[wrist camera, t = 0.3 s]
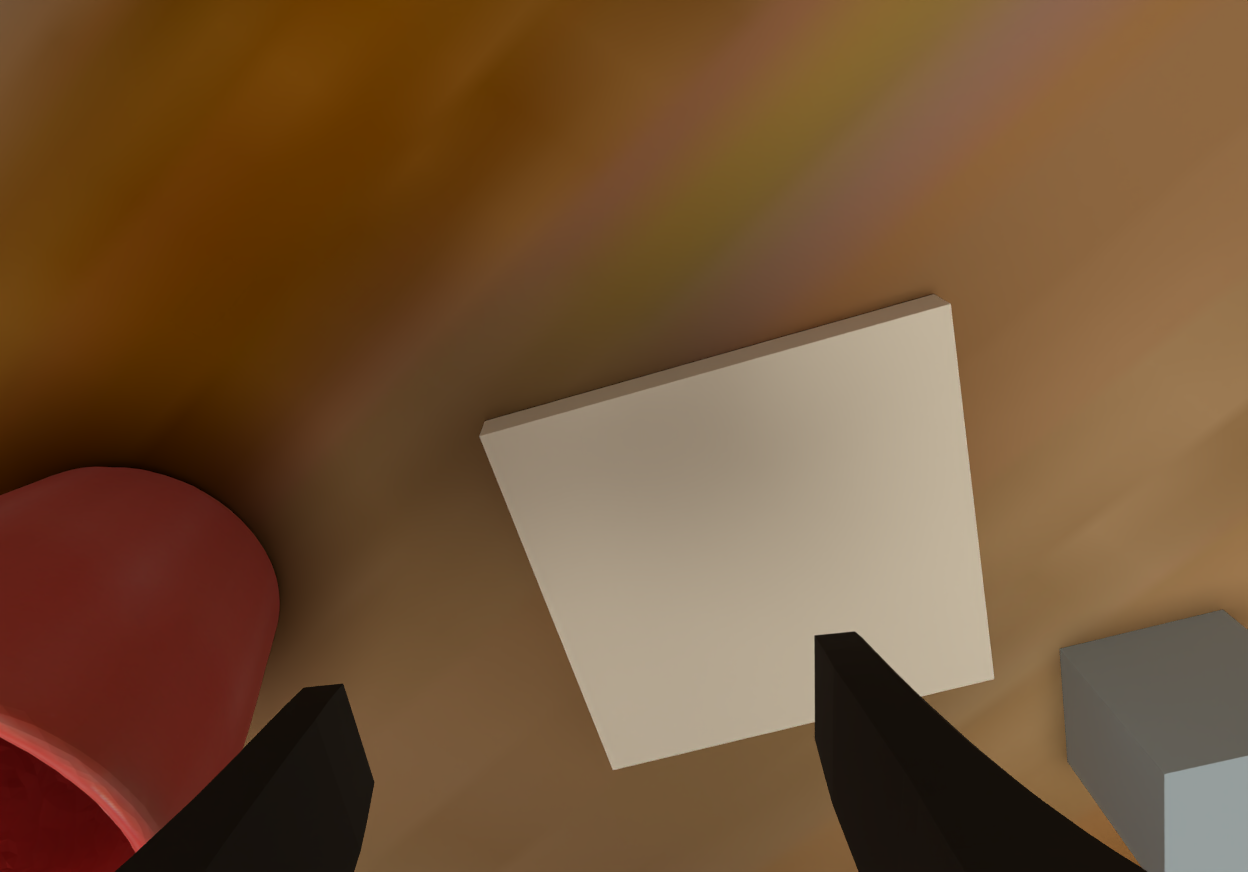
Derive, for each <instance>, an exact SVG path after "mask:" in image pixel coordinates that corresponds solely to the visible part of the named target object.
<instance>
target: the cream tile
mask: <svg viewBox="0 0 1248 872" xmlns="http://www.w3.org/2000/svg"><path fill="white" fill-rule="evenodd" d="M479 437H480V439H481V442H482V444H483V447H484V449H485V452H486V454H487V457H488V459H489V462H490V464H491V467H492V469H493V472H494V474H495V477H496V479H497V482H498V484H499V487H500V489H501V492H502V494H503V497H504V499H505V502H506V504H507V507H508V509H509V512H510V514H511V517H512V519H513V522H514V524H515V527H516V529H517V532H518V534H519V537H520V539H521V542H522V544H523V547H524V549H525V552H526V554H527V557H528V559H529V562H530V564H531V567H532V569H533V572H534V574H535V577H536V579H537V582H538V584H539V587H540V589H541V592H542V594H543V597H544V599H545V602H546V604H547V607H548V609H549V612H550V614H551V617H552V619H553V622H554V624H555V627H556V629H557V631H558V634H559V636H560V639H561V641H562V644H563V646H564V649H565V651H566V654H567V656H568V659H569V661H570V664H571V666H572V669H573V671H574V674H575V676H576V679H577V681H578V684H579V686H580V689H581V691H582V694H583V696H584V699H585V701H586V704H587V706H588V709H589V711H590V714H591V716H592V719H593V721H594V724H595V726H596V729H597V731H598V734H599V736H600V739H601V741H602V744H603V746H604V749H605V751H606V754H607V756H608V759H609V761H610V764H611V766H612V769H613V770H616V769H620V768H624V767H628V766H632V765H637V764H641V763H645V762H649V761H653V760H658V759H662V758H666V757H670V756H674V755H678V754H683V753H687V752H691V751H695V750H699V749H704V748H708V747H712V746H716V745H720V744H724V743H729V742H733V741H737V740H741V739H745V738H750V737H754V736H758V735H762V734H766V733H770V732H775V731H779V730H783V729H787V728H791V727H796V726H800V725H804V724H808V723H812V722H815V654H814V635H823V634H833V633H843V632H853V631H855V632H856V633H857V634H859V635H860V636H861V637H862V638H863V639H864V640H865V641H866V642H867V643H868V644H869V645H870V646H871V647H872V648H873V649H874V650H875V651H876V652H877V653H878V654H879V655H880V656H881V657H882V659H883V660H884V661H885V662H886V663H887V664H888V665H889V666H890V667H891V668H892V669H893V670H894V671H895V672H896V673H897V674H898V675H899V676H900V677H901V678H902V679H903V680H904V681H905V682H906V683H907V684H908V685H909V686H910V687H911V688H912V689H913V690H914V691H916V692H917V693H918V694H919V695H920V696H925V695H929V694H934V693H938V692H942V691H946V690H950V689H954V688H959V687H963V686H967V685H971V684H975V683H980V682H984V681H988V680H992V679H994V672H993V664H992V655H991V646H990V638H989V629H988V621H987V612H986V603H985V595H984V586H983V578H982V569H981V561H980V552H979V543H978V535H977V526H976V518H975V509H974V500H973V492H972V483H971V475H970V466H969V457H968V449H967V440H966V432H965V423H964V415H963V406H962V397H961V389H960V380H959V372H958V363H957V354H956V346H955V337H954V329H953V320H952V311H951V304H950V303H948V302H947V301H945V300H943V299H942V298H940V297H938V296H936V295H935V294H933V295H929V296H925V297H922V298H918V299H915V300H911V301H908V302H904V303H901V304H897V305H894V306H890V307H887V308H883V309H879V310H876V311H872V312H869V313H865V314H862V315H858V316H855V317H851V318H848V319H844V320H841V321H837V322H834V323H830V324H826V325H823V326H819V327H816V328H812V329H809V330H805V331H802V332H798V333H795V334H791V335H788V336H784V337H780V338H777V339H773V340H770V341H766V342H763V343H759V344H756V345H752V346H749V347H745V348H742V349H738V350H735V351H731V352H727V353H724V354H720V355H717V356H713V357H710V358H706V359H703V360H699V361H696V362H692V363H689V364H685V365H681V366H678V367H674V368H671V369H667V370H664V371H660V372H657V373H653V374H650V375H646V376H643V377H639V378H636V379H632V380H628V381H625V382H621V383H618V384H614V385H611V386H607V387H604V388H600V389H597V390H593V391H590V392H586V393H582V394H579V395H575V396H572V397H568V398H565V399H561V400H558V401H554V402H551V403H547V404H544V405H540V406H537V407H533V408H529V409H526V410H522V411H519V412H515V413H512V414H508V415H505V416H501V417H498V418H494V419H491V420H487V421H485V422H484V424H483V427H482V430H481V433H480V436H479Z"/></svg>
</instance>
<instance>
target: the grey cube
mask: <svg viewBox="0 0 1248 872" xmlns="http://www.w3.org/2000/svg"><path fill="white" fill-rule="evenodd" d="M1060 662H1061V676H1062V690H1063V704H1064V719H1065V733H1066V747H1067V761H1068V763H1069V765H1070V766H1071V767H1072V769H1073V770H1074V772H1075V773H1076V775H1077V776H1078V777H1079V779H1080V780H1081V782H1082V783H1083V784H1084V786H1085V787H1086V789H1087V790H1088V792H1089V793H1090V794H1091V796H1092V797H1093V799H1094V800H1095V801H1096V803H1097V804H1098V806H1099V807H1100V809H1101V810H1102V811H1103V813H1104V814H1105V816H1106V817H1107V818H1108V820H1109V821H1110V823H1111V824H1112V826H1113V827H1114V828H1115V830H1116V831H1117V833H1118V834H1119V835H1120V837H1121V838H1122V840H1123V841H1124V843H1125V844H1126V845H1127V847H1128V848H1129V850H1130V851H1131V852H1132V854H1133V855H1134V857H1135V858H1136V860H1137V861H1138V862H1139V864H1140V865H1141V867H1142V868H1143V869H1144V870H1146V871H1147V872H1248V630H1247V629H1246V628H1245V627H1243V626H1242V625H1241V624H1240V623H1239V622H1237V621H1236V620H1235V619H1234V618H1232V617H1231V616H1230V615H1229V614H1228V613H1226V612H1225V611H1224V610H1219V611H1215V612H1211V613H1206V614H1202V615H1198V616H1194V617H1190V618H1186V619H1181V620H1177V621H1173V622H1169V623H1165V624H1161V625H1157V626H1152V627H1148V628H1144V629H1140V630H1136V631H1132V632H1127V633H1123V634H1119V635H1115V636H1111V637H1107V638H1102V639H1098V640H1094V641H1090V642H1086V643H1082V644H1078V645H1073V646H1069V647H1065V648H1061V649H1060Z"/></svg>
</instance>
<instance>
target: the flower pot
mask: <svg viewBox="0 0 1248 872" xmlns="http://www.w3.org/2000/svg"><path fill="white" fill-rule="evenodd" d="M279 608H280V600H279V588H278V583H277V578H276V575H275V572H274V569H273V566H272V564H271V561H270V560H269V558H268V556H267V554H266V551H265V550H264V548H263V547H262V545H261V544H260V542H259V541H258V539H257V538H256V537H255V535H254V534H253V533H252V532H251V530H250V529H249V528H248V527H247V526H246V525H245V524H244V522H243V521H242V520H241V519H239V518H238V517H237V516H236V515H235V514H234V513H233V512H232V511H231V510H230V509H228V508H227V507H226V506H224V505H223V504H222V503H220V502H219V501H217V500H216V499H214V498H213V497H211V496H210V495H208V494H207V493H205V492H203V491H201V490H199V489H198V488H196V487H194V486H192V485H189V484H187V483H185V482H183V481H180V480H177V479H174V478H172V477H169V476H166V475H162V474H159V473H155V472H151V471H147V470H142V469H134V468H126V467H83V468H78V469H72V470H69V471H65V472H62V473H59V474H55V475H52V476H49V477H47V478H44V479H42V480H39V481H37V482H34V483H31V484H29V485H26V486H24V487H21V488H18V489H15V490H13V491H10V492H8V493H5V494H2V495H0V872H115V871H116V870H117V869H118V868H119V867H120V866H121V865H123V864H124V863H125V862H126V861H127V860H128V859H129V858H131V857H132V856H133V855H134V854H135V853H136V852H137V851H138V850H139V849H140V848H141V847H142V846H143V845H144V844H146V843H147V842H148V841H149V840H150V839H151V838H152V837H153V836H154V835H155V834H156V833H157V832H158V831H159V830H160V829H162V828H163V827H164V826H165V825H166V824H167V823H168V822H169V821H170V820H171V819H172V818H173V817H174V816H175V815H177V814H178V813H179V812H180V811H181V810H182V809H183V808H184V807H185V806H186V805H187V804H188V803H189V802H190V801H192V800H193V799H194V798H195V797H196V796H197V795H198V794H199V793H200V792H201V791H202V790H203V789H204V788H205V787H206V786H207V785H208V784H209V783H210V782H211V781H212V780H213V779H214V778H215V777H216V776H217V775H218V774H219V773H220V772H221V771H222V770H223V769H224V768H225V767H226V766H227V765H228V764H229V763H230V762H231V761H232V760H233V759H234V758H235V757H236V756H237V755H238V754H239V753H240V752H241V751H242V749H243V746H244V743H245V740H246V737H247V733H248V730H249V727H250V724H251V720H252V717H253V713H254V709H255V706H256V702H257V699H258V695H259V691H260V688H261V684H262V680H263V676H264V672H265V668H266V664H267V661H268V657H269V654H270V650H271V647H272V643H273V639H274V635H275V632H276V628H277V624H278V619H279Z"/></svg>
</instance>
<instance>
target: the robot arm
mask: <svg viewBox="0 0 1248 872" xmlns="http://www.w3.org/2000/svg"><path fill="white" fill-rule="evenodd" d="M814 654H815V741H816V745H817V748H818V752H819V756H820V760H821V764H822V767H823V771H824V775H825V779H826V782H827V786H828V790H829V793H830V797H831V800H832V804H833V807H834V809H835V812H836V814H837V817H838V820H839V822H840V825H841V827H842V830H843V833H844V835H845V838H846V840H847V843H848V845H849V848H850V851H851V853H852V856H853V858H854V861H855V863H856V866H857V869H858V871H859V872H1147V871H1146V870H1144V869H1143V868H1141V867H1139V866H1138V865H1136V864H1135V863H1133V862H1131V861H1130V860H1128V859H1127V858H1125V857H1123V856H1122V855H1120V854H1119V853H1117V852H1115V851H1114V850H1112V849H1111V848H1109V847H1108V846H1106V845H1105V844H1103V843H1102V842H1100V841H1099V840H1097V839H1096V838H1094V837H1093V836H1091V835H1090V834H1088V833H1087V832H1085V831H1084V830H1083V829H1081V828H1080V827H1078V826H1077V825H1076V824H1074V823H1073V822H1071V821H1070V820H1069V819H1067V818H1066V817H1064V816H1063V815H1062V814H1060V813H1059V812H1058V811H1056V810H1055V809H1053V808H1052V807H1051V806H1049V805H1048V804H1046V803H1045V802H1044V801H1042V800H1041V799H1040V798H1038V797H1037V796H1036V795H1034V794H1033V793H1032V792H1031V791H1029V790H1028V789H1027V788H1025V787H1024V786H1023V785H1022V784H1020V783H1019V782H1018V781H1017V780H1015V779H1014V778H1013V777H1012V776H1010V775H1009V774H1008V773H1007V772H1006V771H1004V770H1003V769H1002V768H1001V767H999V766H998V765H997V764H996V763H995V762H993V761H992V760H991V759H990V758H989V757H987V756H986V755H985V754H984V753H983V752H981V751H980V750H979V749H978V748H977V747H976V746H974V745H973V744H972V743H971V742H970V741H969V740H968V739H966V738H965V737H964V736H963V735H962V734H961V733H960V732H959V731H958V730H956V729H955V728H954V727H953V726H952V725H951V724H950V723H949V722H948V721H947V720H945V719H944V718H943V717H942V716H941V715H940V714H939V713H938V712H937V711H936V710H935V709H933V708H932V707H931V706H930V705H929V704H928V703H927V702H926V701H925V700H924V699H923V698H922V697H921V696H920V695H919V694H918V693H917V692H916V691H914V690H913V689H912V688H911V687H910V686H909V685H908V684H907V683H906V682H905V681H904V680H903V679H902V678H901V677H900V676H899V675H898V674H897V673H896V672H895V671H894V670H893V669H892V668H891V667H890V666H889V665H888V664H887V663H886V662H885V661H884V660H883V659H882V657H881V656H880V655H879V654H878V653H877V652H876V651H875V650H874V649H873V648H872V647H871V646H870V645H869V644H868V643H867V642H866V641H865V640H864V639H863V638H862V637H861V636H860V635H859V634H857V633H856V632H855V631H853V632H843V633H833V634H823V635H814ZM373 787H374V780H373V777H372V773H371V770H370V767H369V764H368V761H367V758H366V754H365V751H364V748H363V745H362V742H361V739H360V735H359V732H358V729H357V726H356V723H355V720H354V716H353V713H352V710H351V707H350V704H349V701H348V697H347V694H346V691H345V688H344V685H343V684H335V685H325V686H316V687H306V688H303V689H302V690H301V691H300V692H299V693H298V694H297V695H296V696H295V697H294V698H293V699H292V700H291V701H290V702H288V703H287V704H286V705H285V706H284V708H283V709H282V710H281V711H280V712H279V713H278V714H277V715H276V716H275V717H274V718H273V719H272V720H271V721H270V722H269V723H268V724H267V725H266V726H265V727H264V728H263V729H262V730H261V731H260V732H259V733H258V734H257V735H256V736H255V737H254V738H253V739H252V740H251V741H250V742H249V743H248V744H247V745H246V746H245V747H244V748H243V750H242V751H241V752H240V753H239V754H238V755H237V756H236V757H235V758H234V759H233V760H232V761H231V762H230V763H229V764H228V765H227V766H226V767H225V768H224V769H223V770H222V771H221V772H220V773H219V774H218V775H217V776H216V777H215V778H214V779H213V780H212V781H211V782H210V783H209V784H208V785H207V786H206V787H205V788H204V789H203V790H202V791H201V792H200V793H199V794H198V795H197V796H196V797H195V798H194V799H193V800H192V801H190V802H189V803H188V804H187V805H186V806H185V807H184V808H183V809H182V810H181V811H180V812H179V813H178V814H177V815H175V816H174V817H173V818H172V819H171V820H170V821H169V822H168V823H167V824H166V825H165V826H164V827H163V828H162V829H160V830H159V831H158V832H157V833H156V834H155V835H154V836H153V837H152V838H151V839H150V840H149V841H148V842H147V843H146V844H144V845H143V846H142V847H141V848H140V849H139V850H138V851H137V852H136V853H135V854H134V855H133V856H132V857H131V858H129V859H128V860H127V861H126V862H125V863H124V864H123V865H121V866H120V867H119V868H118V869H117V870H116V871H115V872H354V870H355V867H356V864H357V860H358V857H359V854H360V851H361V846H362V842H363V837H364V833H365V828H366V823H367V819H368V813H369V808H370V803H371V798H372V792H373Z"/></svg>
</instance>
